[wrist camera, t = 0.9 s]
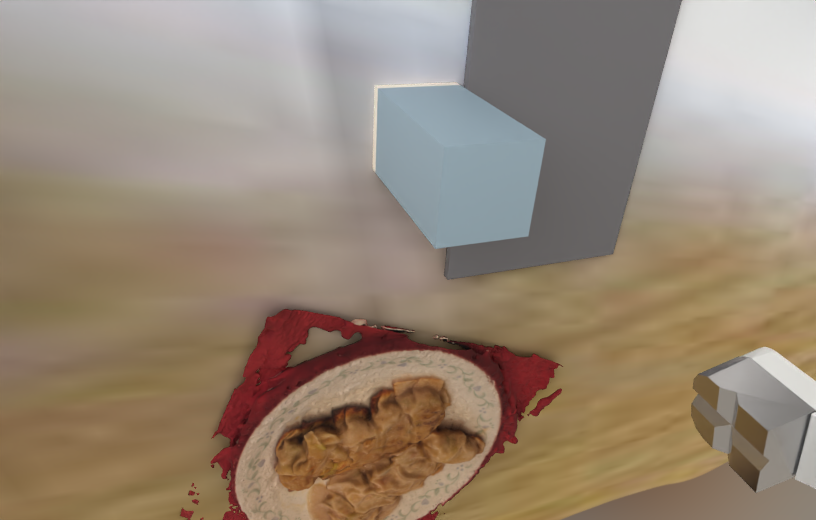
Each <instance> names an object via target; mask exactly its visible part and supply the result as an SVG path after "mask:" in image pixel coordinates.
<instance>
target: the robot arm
mask: <svg viewBox="0 0 816 520" xmlns="http://www.w3.org/2000/svg"><path fill="white" fill-rule="evenodd" d="M693 389H694V390H695V391H696V392H697V393H698V395H697V396H696V398H695V399H694V401H693V402H692V404H691V416H692V419H693V421H694V424H695V427H696V429H697V430H698V432H699V433H700V435H701V436H702V438H703V439H704V440H705V441H706V442H707V443H708V444H709V445H710V446H711V447H712V448H713V449H716V450H719V451H721V452H724V453H727V454H728V460H729V466H730V467H731V468H732V469H733V470H734V471H735V472H736V473H737V474H738V475H739V476H740V477H741V478H742V479H743V480H744V481H745V482H746V483H747V484H748V485H749V486H750V487H751V488H752V489H753V490H754V492H755V493H757V492H759V491H762V490H764V489H767V488H769V487H771V486H773V485H776V484H778V483H781V482H783V481H785V480H788V479H790V478H793V477H795V476H796V477H795V479H796V480H798V481H800V482H802V483H804V484H806V485H808V486H811V487H813V488H815V489H816V381H815V380H813V379H812V378H811V377H809V376H808V375H807V374H805V373H804V372H803V371H801V370H800V369H799V368H797V367H796V366H795V365H793V364H792V363H791V362H789V361H788V360H787V359H785V358H784V357H783V356H781V355H780V354H779V353H777V352H776V351H774V350H773V349H770V348H767V347H762V348H758V349H756V350H754V351H752V352H749V353H747V354H745V355H743V356H740V357H736V358H734V359H732V360H729V361H727V362H725V363H722V364H720V365H718V366H716V367H713V368H711V369H709V370H707V371H704V372H702V373H700V374H698V375H697V376H696V377H695V378H694V382H693Z"/></svg>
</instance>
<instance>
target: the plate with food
mask: <svg viewBox="0 0 816 520" xmlns="http://www.w3.org/2000/svg"><path fill="white" fill-rule="evenodd" d="M311 327H318V328H321V329H323V330H326V331H328V332H332V331H334V330H339V331H341V335H342V337H343V338H345V339H347V340H349V339H350V338H351V337H352V336H353V334H354V333H356V332H359V333H361V336H362V339H361V340H360V341H358V342H356V343H353V344H350V345H347V346H345V347H339V348H337V349H335V350H333V351H330V352H328V353H326V354H323V355H320V356H318V357H315V358H313V359H311V360H308V361H304V362H302V363H301V364H298V365H297V366H295V367H287V368H286V366H287V365H288V363H287V362H288V361H289V360H290V359H291V355H290V354H286V353H287V352H292V351H293V350H294V349H295V348H296V347H297V345H299V344H306V338H307V337H308V329H309V328H311ZM381 328H382V329H383V330H381V329H377V325H373V326H368V324H367V320H365V319H354V320H353V321H351V322H349V321H346V320H344V319H341V318H340V317H334V316H329V315H323V314H318V313H313V312H308V311H303V310H302V311H301V310H292V311H291V310H288V309H284V310H282V311H281V312H279V313H278V314H277V315H275V316H272V317H267V319H266V323H265V329H264V330H263V331H262V332H261V334H260V336H259V337H258V344H257V347H256V348H255V349H254V351H253V353H252V354H251V355H250V357H249V359H248V363H247V365H246V366H245V370H244V374H243V377H246V379H245V382H244V383H243V384H242V385H240V386H239V387H238V388H237V389H234V392H233V395H232V396H231V399H230V401H229V403H228V405H227V407H226V410H225V412H224V415H223V418H222V419H221V422H220V424H219V427H218V430H217V431H216V432H215V434H214V435H213V437H212V438H214V437H215V436H216V435H217V434H219V433H220V434H222V435H223V436H225V437H228V438H229V439H231V440H230V446H229V447H227V448H224V449H223V450H221V452H220V453H218V454H217V455H216V456H215V457H214V458H213V460H212V461H211V464H212V463H216V462H218V463H219V465H220V466H221V467H222V469H223V473H222V475H221V476H222V478H223V479H227V477H226V475H227V473H228V471H229V470H231V472H230V473H231V474H230V475H231V481H230V483H229V487H228V488H226V490H231V492H229V502H230V504H233V506H238V507H236V509H233V508H232V507H233V506H230V507H229V508H230V509H231V511H229V512H226V513H225V514H224V517H223V520H435V518H436V517H437V515H438V512H435V513H434V514H431V511H435V509H437V506H438V505H439V504H442V506H443V505H444V504H445V503H446V502H447V501H449V500H451V499H452V498H453V497H454V496H455V495H456V494H458V493H459V492H460V490H461V489H462V488H464V487H465V486H466V485H468V484H469V483H470V482H471V481H472V480H473V478H474V477H475V476H476V474H478V473H479V469H481V468H483V467H484V466H485V464H486V463H487V462H488V461H489V460H490V457H491V456H493V455H494V454H495V453H504V449H505V448H504V446H503V443H504V442H505V441H509V442H511V443H514V444H516V443H517V442H518V439H517V438H516V437H515V436H514V435H515V431H516V429H517V415H518V420H519V421H521V419H522V418H524V416H522V415H521V413H524V412H525V407H526V406H528V405H529V401H530V400H531V399H532V398H533V397H534V396H535V395H536V391H538V390H540V389H542V390H543V389H546V388H547V385H548V383H549V378H554V369H556V368H558V366H559V365H560V364H558V363H555V362H553V361H550V360H546V359H543V358H540V357H539V356H537V355H536V354H533V355H532V356H531V357H518V356H515V355H514V354H513V353H511V352H509V351H508V349H506V348H505V347H504V346H503V347H499V346H496V345H495V346H494V348H492V347H484V346H483V345H477V344H474V343H466V342H457V341H451V340H450V341H449V339H447V337H445V336H442V337H440V338H439V336H438V335H436V338H435V337H434V336H433V338H434V339H438V338H439V339H440V340H443V341H446V342H448V343H451V344H453V345H454V344H457V345H459V346H461V347H462V348H463V349H466V350H453V349H445V348H442V347H437V346H435V347H433V346H432V347H430V346H428V345H426V344H419V343H416V342H414V341H411V340H409V339H408V336H407V335H405V334H401V333H399V332H408V333H411V332H413V333H414V332H415V331H414V330H407V329H403V328H397V327H390V326H381ZM561 366H562V365H561ZM562 367H563V366H562ZM258 369H259V370H260V371H259V373H256V371H257V370H258ZM259 377H260V379H259V380H258V378H259ZM260 381H261V383H260V384H259V385H256V384H258V383H259V382H260ZM561 391H562V389H559V390H557V391H556V392H555V393H553V394H552V395H550V396H549V397H545V398H542V399H540V400H539V401H538V403H537V406H536V407H535V409H533V410H532V411H530V413H529V414H532V415H533V416H538V415H539V413H540V411H541V410H542V409H544V407H545V406H547V405H549V404H550V403H551V402H552V400H553V399H554V398H556V397H557V396H558V395H559V394H560V393H561ZM529 414H527V415H528V416H529ZM211 467H212V468H214V465H211ZM230 468H231V469H230ZM228 480H229V479H228ZM192 486H194V483H193V484H192ZM192 486H191V487H192ZM194 488H195V489H196V487H194ZM194 493H195V492H193V491H190V492H189V494H188V495H194ZM196 494H197V495H199V493H196ZM192 502H193V503H195V504H197V505H198V502H199V501H197V500H196V499H194V500H192ZM239 510H240V511H241V512H240V513H239ZM233 511H235V513H234V512H233ZM193 513H194V511H185V510H184V509H183V507H182V511H181V515H180V516H182V517H186V518H188V520H190V518H191V516H192V514H193ZM241 513H243V514H241ZM237 514H238V515H237ZM444 514H445V513H444ZM233 515H234V516H233ZM432 515H433V516H432ZM243 517H244V518H243ZM202 519H203V518H201V519H200V520H202Z"/></svg>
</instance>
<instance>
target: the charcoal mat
mask: <svg viewBox="0 0 816 520" xmlns="http://www.w3.org/2000/svg"><path fill="white" fill-rule="evenodd" d="M681 1H682V0H472V10H471V19H470V29H469V39H468V49H467V58H466V68H465V78H464V88H466V89H467V90H469V91H470V92H472V93H474V94H475V95H477V96H478V97H480V98H482V99H483V100H485V101H486V102H488V103H489V104H491V105H493V106H494V107H496V108H497V109H499V110H500V111H502V112H504V113H505V114H507V115H508V116H510V117H512V118H513V119H515V120H516V121H518V122H519V123H521V124H523V125H524V126H526V127H527V128H529V129H531V130H532V131H534V132H535V133H537V134H538V135H540V136H542V137H543V138H545V139H546V142H545V147H544V153H543V158H542V164H541V169H540V175H539V180H538V186H537V191H536V197H535V202H534V208H533V213H532V218H531V224H530V229H529V235H528V236H527V237H519V238H512V239H504V240H497V241H490V242H482V243H475V244H468V245H460V246H453V247H447V253H446V263H445V272H444V276H445V277H446V278H447V280H449V279H456V278H462V277H469V276H475V275H482V274H488V273H494V272H501V271H507V270H514V269H520V268H527V267H533V266H540V265H546V264H553V263H559V262H566V261H572V260H579V259H585V258H591V257H598V256H604V255H611V254H613V252H614V248H615V245H616V241H617V237H618V234H619V230H620V226H621V223H622V219H623V215H624V212H625V208H626V204H627V201H628V197H629V193H630V189H631V186H632V182H633V178H634V175H635V171H636V167H637V164H638V160H639V156H640V153H641V149H642V145H643V141H644V138H645V134H646V130H647V127H648V123H649V119H650V116H651V112H652V108H653V105H654V101H655V97H656V94H657V90H658V86H659V82H660V79H661V75H662V71H663V68H664V64H665V60H666V57H667V53H668V49H669V46H670V42H671V38H672V35H673V31H674V27H675V23H676V20H677V16H678V12H679V9H680V5H681Z"/></svg>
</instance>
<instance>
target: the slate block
mask: <svg viewBox="0 0 816 520" xmlns="http://www.w3.org/2000/svg"><path fill="white" fill-rule="evenodd" d="M545 142H546V139H545V138H543V137H542V136H540V135H538V134H537V133H535V132H534V131H532V130H531V129H529V128H527V127H526V126H524V125H523V124H521V123H519V122H518V121H516V120H515V119H513V118H512V117H510V116H508V115H507V114H505V113H504V112H502V111H500V110H499V109H497V108H496V107H494V106H493V105H491V104H489V103H488V102H486V101H485V100H483V99H482V98H480V97H478V96H477V95H475V94H474V93H472V92H470V91H469V90H467V89H466V88H464V87H463V86H461V85H459V84H458V83H456V82H452V83H425V84H399V85H375V93H374V131H373V170H374V171H375V173H376V174H377V175H378V177H379V178H380V179H381V180H382V182H383V183H384V184H385V185H386V187H387V188H388V189H389V191H390V192H391V193H392V194H393V196H394V197H395V198H396V200H397V201H398V202H399V203H400V205H401V206H402V207H403V208H404V210H405V211H406V212H407V214H408V215H409V216H410V217H411V219H412V220H413V221H414V223H415V224H416V225H417V226H418V228H419V229H420V230H421V231H422V233H423V234H424V235H425V237H426V238H427V239H428V240H429V242H430V243H431V244H432V245H433V247H434V248H435V249H438V248H445V247H453V246H460V245H468V244H475V243H482V242H490V241H497V240H504V239H512V238H519V237H527V236H528V235H529V229H530V224H531V218H532V213H533V208H534V202H535V197H536V191H537V186H538V180H539V175H540V169H541V164H542V158H543V153H544V147H545Z"/></svg>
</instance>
